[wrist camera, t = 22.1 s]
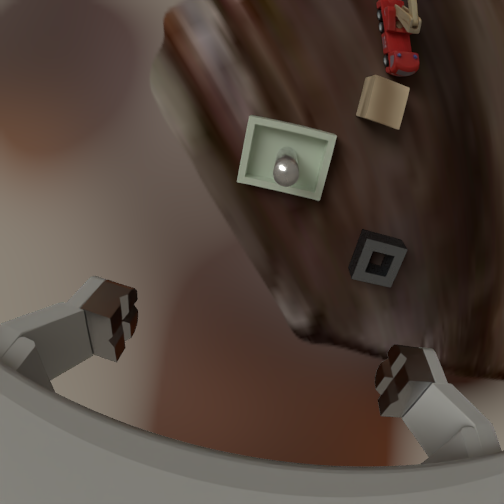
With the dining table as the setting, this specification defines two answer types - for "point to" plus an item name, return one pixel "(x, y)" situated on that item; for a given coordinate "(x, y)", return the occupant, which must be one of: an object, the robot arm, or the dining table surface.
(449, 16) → the dining table surface
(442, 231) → the dining table surface
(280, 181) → the pin
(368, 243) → the socket block
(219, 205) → the dining table surface
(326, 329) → the dining table surface
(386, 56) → the toy fire truck
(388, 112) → the block
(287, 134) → the tray
